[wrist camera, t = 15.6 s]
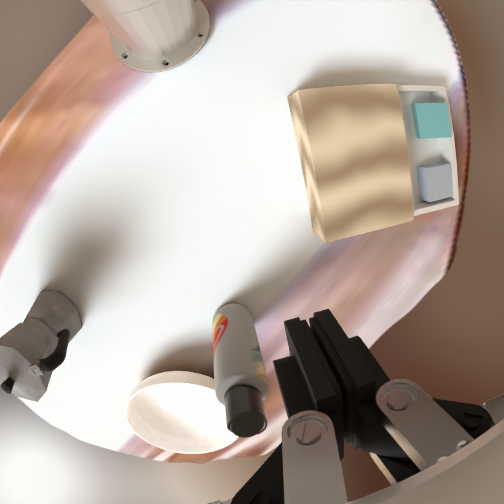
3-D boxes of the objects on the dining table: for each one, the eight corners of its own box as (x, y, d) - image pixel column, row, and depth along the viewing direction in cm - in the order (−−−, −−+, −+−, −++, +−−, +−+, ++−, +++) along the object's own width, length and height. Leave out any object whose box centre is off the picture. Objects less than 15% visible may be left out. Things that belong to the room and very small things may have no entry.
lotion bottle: (206, 326, 43) (206, 437, 25) (224, 295, 42) (234, 403, 23) (240, 340, 45) (258, 449, 26) (259, 311, 44) (289, 417, 25)
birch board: (287, 96, 34) (297, 90, 30) (376, 88, 35) (395, 83, 30) (313, 231, 40) (325, 243, 36) (394, 211, 41) (413, 220, 36)
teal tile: (446, 102, 31) (441, 103, 34) (414, 103, 33) (410, 104, 35) (452, 137, 33) (446, 136, 35) (420, 138, 35) (416, 137, 37)
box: (379, 88, 35) (392, 84, 31) (431, 88, 35) (445, 86, 32) (397, 211, 41) (410, 216, 38) (444, 199, 41) (458, 204, 38)
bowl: (238, 352, 46) (242, 378, 40) (243, 426, 52) (247, 451, 47) (118, 356, 44) (109, 381, 38) (145, 429, 50) (142, 452, 44)
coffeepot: (47, 347, 42) (4, 419, 25) (18, 301, 38) (-40, 365, 22) (113, 324, 42) (75, 411, 25) (82, 270, 38) (21, 343, 21)
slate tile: (450, 163, 36) (439, 162, 39) (426, 168, 36) (416, 166, 38) (452, 196, 38) (442, 193, 40) (429, 202, 38) (419, 199, 40)
